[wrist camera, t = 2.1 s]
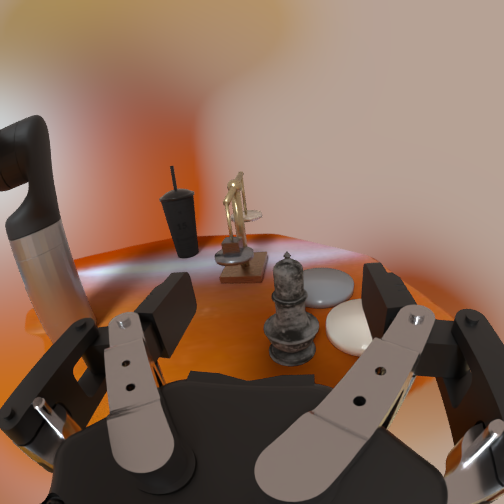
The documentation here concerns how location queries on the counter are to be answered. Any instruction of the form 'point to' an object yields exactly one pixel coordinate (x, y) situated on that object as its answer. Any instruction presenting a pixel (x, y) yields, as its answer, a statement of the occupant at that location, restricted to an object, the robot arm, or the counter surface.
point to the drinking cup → (181, 219)
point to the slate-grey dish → (327, 287)
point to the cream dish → (348, 328)
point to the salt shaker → (290, 317)
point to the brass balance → (239, 241)
